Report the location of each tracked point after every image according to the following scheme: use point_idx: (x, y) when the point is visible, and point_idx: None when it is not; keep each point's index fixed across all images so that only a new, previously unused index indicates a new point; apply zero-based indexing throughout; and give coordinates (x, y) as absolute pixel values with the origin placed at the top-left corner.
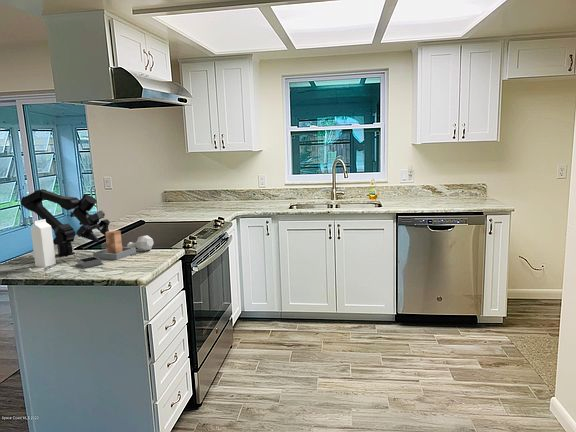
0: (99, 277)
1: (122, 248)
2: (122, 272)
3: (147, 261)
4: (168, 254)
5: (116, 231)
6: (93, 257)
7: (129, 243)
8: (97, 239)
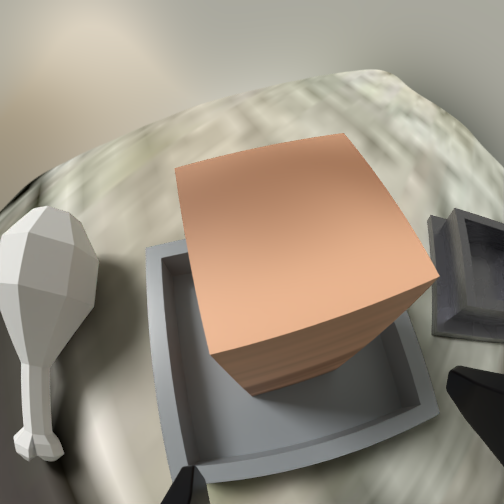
0: (465, 138)
1: (173, 364)
2: (400, 115)
3: (259, 130)
4: (132, 146)
5: (265, 161)
6: (473, 297)
7: (33, 440)
8: (479, 371)
